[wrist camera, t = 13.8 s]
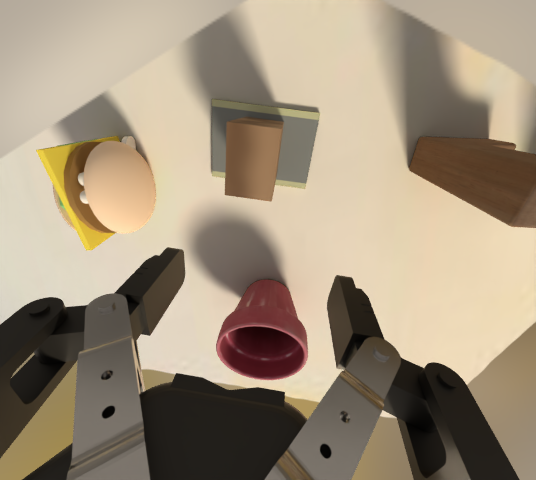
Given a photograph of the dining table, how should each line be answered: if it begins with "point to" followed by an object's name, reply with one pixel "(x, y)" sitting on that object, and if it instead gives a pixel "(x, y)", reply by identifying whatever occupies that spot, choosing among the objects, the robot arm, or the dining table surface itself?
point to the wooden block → (482, 175)
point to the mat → (292, 144)
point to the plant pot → (264, 334)
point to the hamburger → (101, 187)
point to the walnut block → (252, 157)
